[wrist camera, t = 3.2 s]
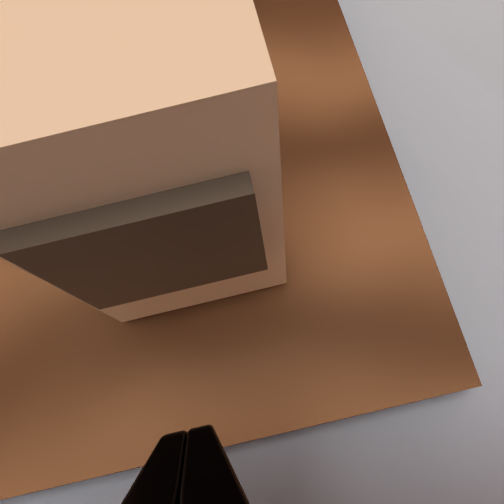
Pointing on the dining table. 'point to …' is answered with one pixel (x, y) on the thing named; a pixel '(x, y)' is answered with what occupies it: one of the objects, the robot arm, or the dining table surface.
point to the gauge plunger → (140, 151)
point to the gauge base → (248, 302)
